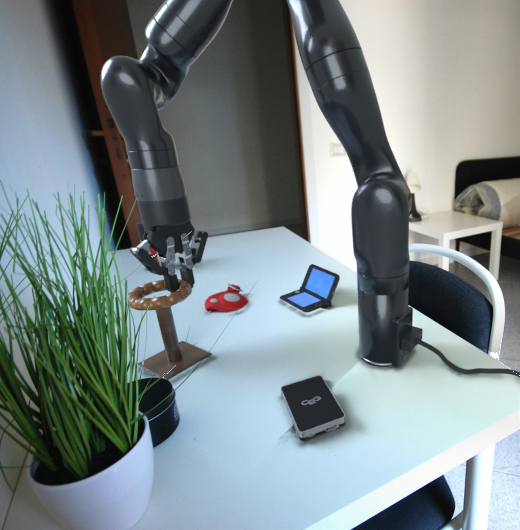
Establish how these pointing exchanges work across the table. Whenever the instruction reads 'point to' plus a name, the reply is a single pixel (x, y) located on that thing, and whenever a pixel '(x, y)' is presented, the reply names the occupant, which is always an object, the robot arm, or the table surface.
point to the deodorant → (141, 234)
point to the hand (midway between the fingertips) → (182, 290)
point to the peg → (172, 349)
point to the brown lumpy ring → (158, 302)
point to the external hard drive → (312, 407)
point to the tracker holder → (226, 300)
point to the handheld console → (314, 290)
